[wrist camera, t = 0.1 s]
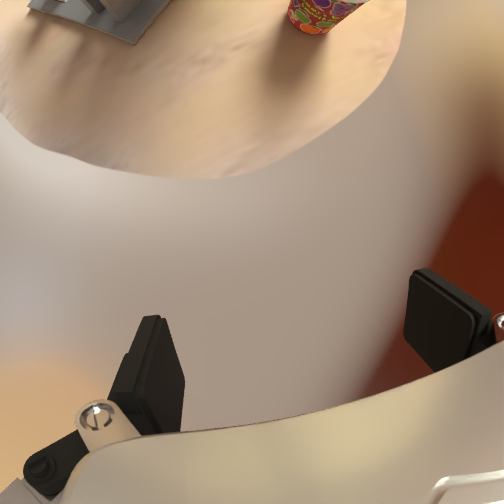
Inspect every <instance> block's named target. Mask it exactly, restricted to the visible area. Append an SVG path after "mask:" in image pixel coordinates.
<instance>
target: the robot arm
mask: <svg viewBox="0 0 504 504" xmlns="http://www.w3.org/2000/svg"><path fill="white" fill-rule="evenodd" d="M491 313H492V310H490V309H489V308H488V307H486V306H485V305H483V304H482V303H480V302H479V301H478V300H476V299H474V298H473V297H472V296H470V295H469V294H467V293H466V292H464V291H463V290H461V289H460V288H458V287H457V286H455V285H453V284H452V283H451V282H449V281H447V280H446V279H444V278H443V277H441V276H440V275H438V274H437V273H435V272H433V271H432V270H430V269H429V268H423V269H419V270H415V271H414V272H413V274H412V275H411V276H410V279H409V292H408V300H407V309H406V317H405V324H404V331H403V334H404V337H405V340H406V341H407V342H408V343H409V344H410V345H411V347H412V348H413V349H414V350H415V351H416V352H417V353H418V354H419V356H420V357H421V358H422V359H423V360H424V361H425V362H426V363H427V365H428V366H429V367H430V368H431V369H432V370H433V371H434V373H433V374H431V375H428V376H426V377H423V378H421V379H418V380H415V381H413V382H410V383H407V384H405V385H402V386H399V387H396V388H394V389H391V390H388V391H385V392H382V393H379V394H376V395H373V396H369V397H366V398H363V399H360V400H356V401H353V402H349V403H346V404H342V405H339V406H335V407H331V408H327V409H323V410H319V411H315V412H311V413H306V414H301V415H297V416H292V417H287V418H282V419H277V420H271V421H265V422H259V423H253V424H247V425H239V426H231V427H223V428H214V429H204V430H196V431H185V432H180V428H181V418H182V407H183V398H184V388H185V379H184V374H183V371H182V368H181V365H180V362H179V359H178V357H177V353H176V350H175V347H174V344H173V341H172V337H171V334H170V330H169V327H168V324H167V321H166V319H165V318H161V317H160V316H159V315H152V316H144V317H143V318H142V321H141V323H140V326H139V328H138V331H137V333H136V335H135V338H134V340H133V342H132V345H131V347H130V350H129V353H126V354H125V356H124V358H123V360H122V362H121V365H120V368H119V370H118V372H117V375H116V378H115V380H114V383H113V386H112V388H111V391H110V393H109V396H108V398H107V400H103V399H102V400H95V401H92V402H89V403H88V404H86V405H84V406H83V407H82V408H81V409H80V410H79V411H78V413H77V415H76V418H75V424H76V427H77V430H76V431H74V432H72V433H70V434H69V435H67V436H65V437H63V438H62V439H60V440H58V441H56V442H55V443H53V444H51V445H49V446H47V447H46V448H44V449H42V450H40V451H38V452H36V453H35V454H33V455H32V456H30V457H29V459H28V460H27V461H26V463H25V465H24V468H23V474H24V478H23V479H22V480H20V479H18V478H16V479H15V480H14V481H13V482H12V483H11V484H10V485H9V486H8V487H7V488H6V489H5V490H4V491H3V492H2V493H1V494H0V504H504V313H501V314H498V315H496V316H495V317H494V319H493V322H492V321H491V320H490V316H491Z"/></svg>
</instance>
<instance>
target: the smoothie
mask: <svg viewBox="0 0 504 504" xmlns="http://www.w3.org/2000/svg"><path fill="white" fill-rule="evenodd" d="M368 1H369V0H291V2H290V4H289V7H288V15H289V18H290V20H291V21H292V23H293V24H294V26H295V27H297V28H298V29H299V30H301V31H303V32H305V33H309V34H323V33H326V32H328V31H329V30H330V29H332V28H333V27H334V26H335V25H337V24H338V23H339V22H340V21H342V20H343V19H344V18H346V17H347V16H348V15H349V14H351V13H352V12H353V11H355V10H356V9H357V8H359V7H360V6H362V5H363V4H364V3H366V2H368Z"/></svg>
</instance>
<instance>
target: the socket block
mask: <svg viewBox="0 0 504 504" xmlns="http://www.w3.org/2000/svg"><path fill="white" fill-rule="evenodd" d="M171 1H172V0H67V2H66V3H62V2H58V1H54V0H31V2H30V3H29V4H28V6H27V7H29V8H30V9H32V10H36V11H40V12H43V13H47V14H50V15H54V16H57V17H60V18H63V19H66V20H70V21H73V22H75V23H78V24H81V25H84V26H87V27H90V28H92V29H95V30H98V31H100V32H103V33H105V34H108V35H110V36H113V37H115V38H118V39H120V40H123V41H125V42H127V43H130V44H132V45H134V46H135V44H136V43H137V42H138V40H139V39H140V38H141V36H142V35H143V34H144V33H145V31H146V30H147V29H148V28H149V26H150V25H151V24H152V23H153V21H154V20H155V19H156V18H157V17H158V15H159V14H160V13H161V12H162V11H163V10H164V8H165V7H166V6H167V5H168V4H169V3H170V2H171Z"/></svg>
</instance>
